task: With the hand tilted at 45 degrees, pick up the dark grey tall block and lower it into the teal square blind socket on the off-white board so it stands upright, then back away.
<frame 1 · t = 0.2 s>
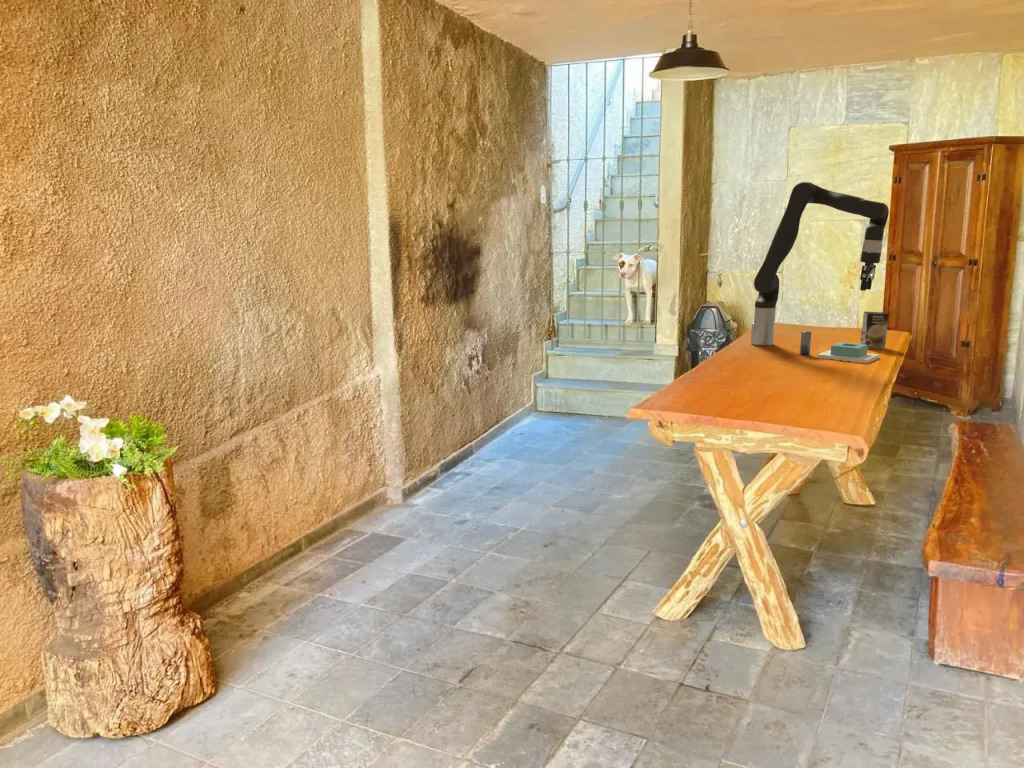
hand: (865, 289, 338), 28 cm above the table, tool pointing down, fingers open, 8 cm apart
dark grey tall block: (804, 354, 346), on the table
socket board: (848, 357, 338), on the table
coffee box: (872, 348, 362), on the table
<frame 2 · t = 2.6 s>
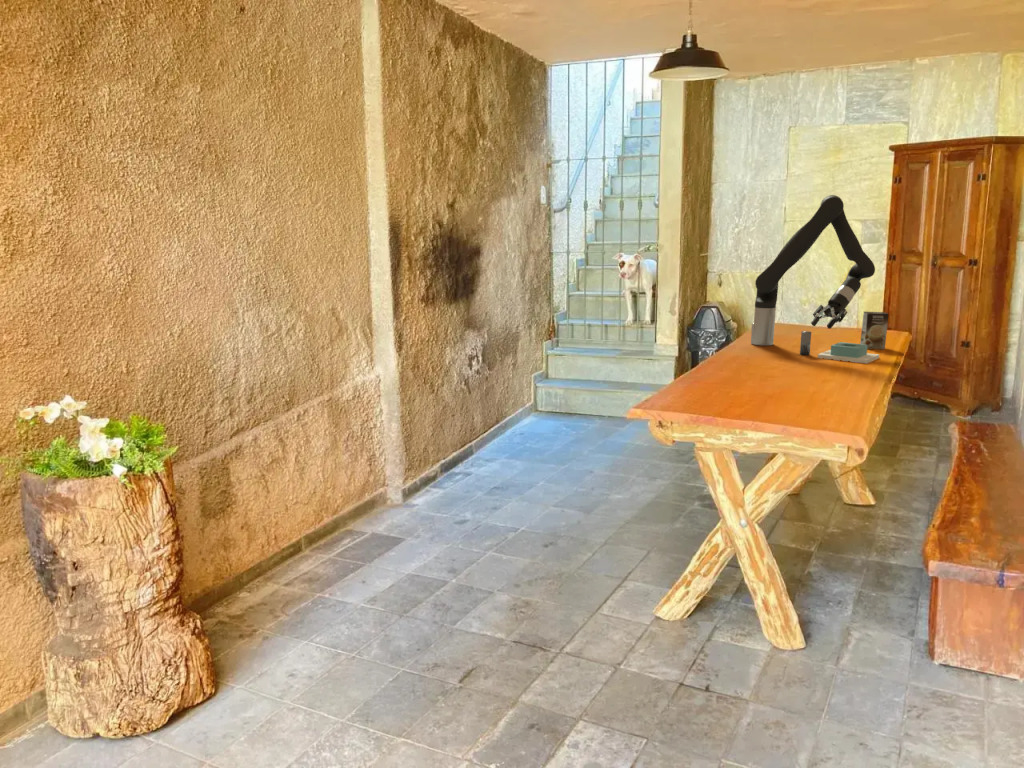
hand: (820, 326, 347), 12 cm above the table, tool tilted 45°, fingers open, 8 cm apart
nothing on the table moved.
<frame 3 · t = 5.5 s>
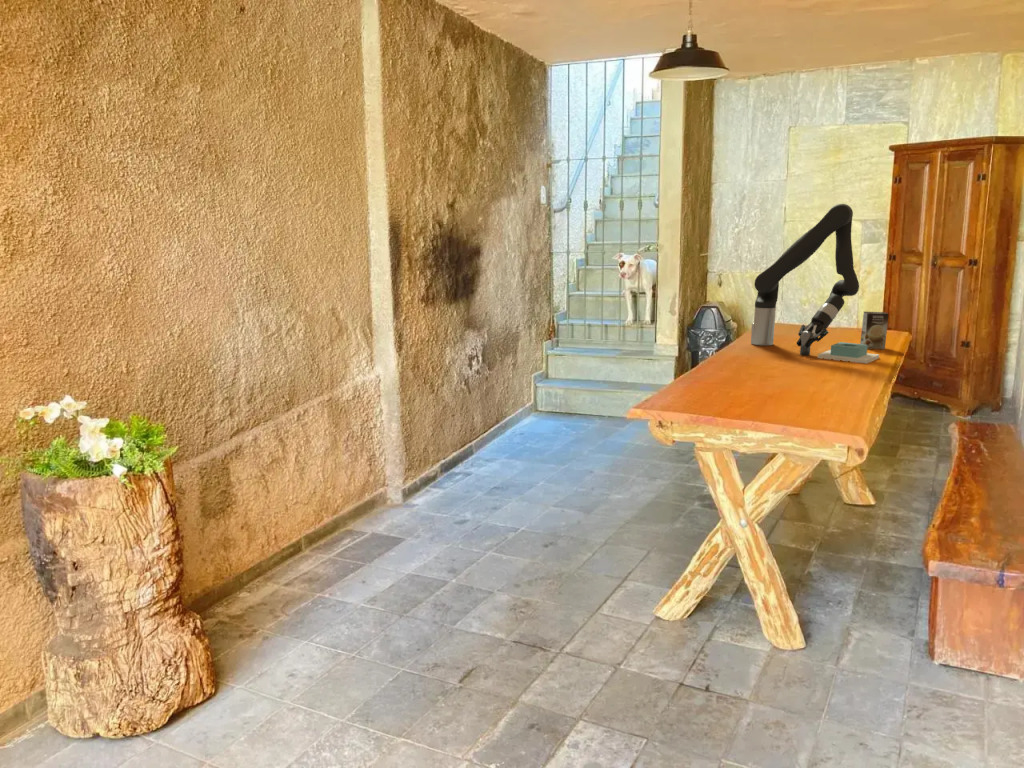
hand: (802, 345, 344), 4 cm above the table, tool tilted 45°, fingers closed on dark grey tall block, 4 cm apart
dark grey tall block: (804, 354, 346), on the table, touching gripper
everything else where it was.
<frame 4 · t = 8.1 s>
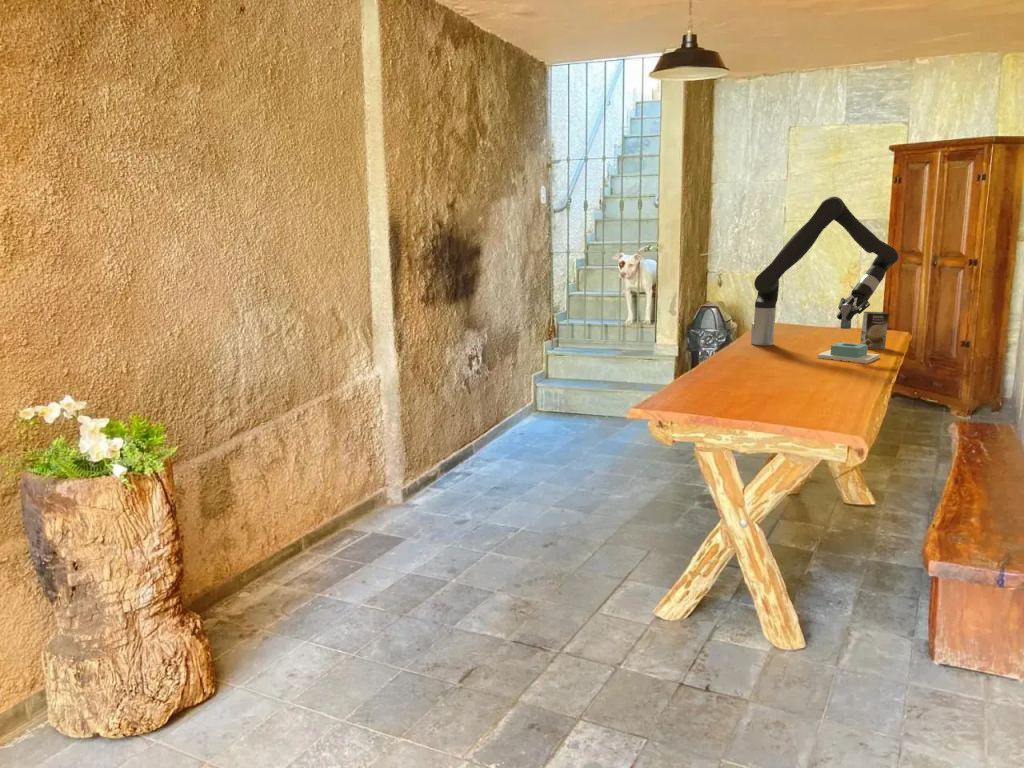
hand: (842, 318, 334), 17 cm above the table, tool tilted 45°, fingers closed on dark grey tall block, 4 cm apart
dark grey tall block: (845, 328, 336), point 13 cm above the table, touching gripper
everything else where it was.
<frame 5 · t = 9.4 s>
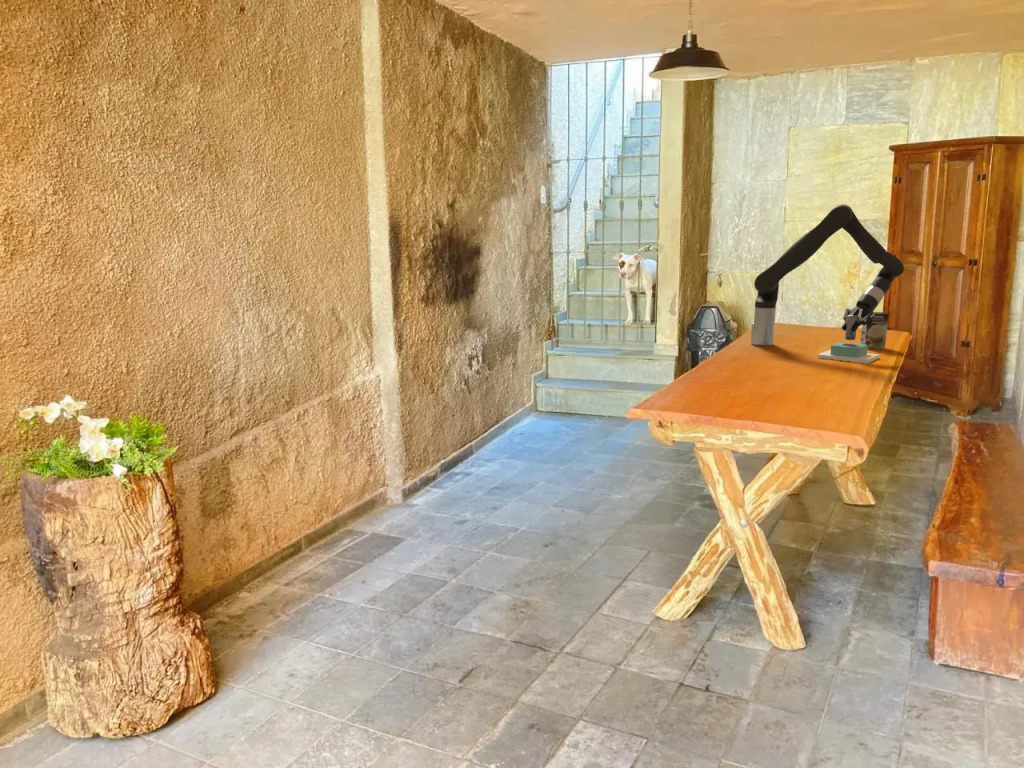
hand: (847, 329, 334), 12 cm above the table, tool tilted 45°, fingers closed on dark grey tall block, 4 cm apart
dark grey tall block: (850, 339, 336), point 8 cm above the table, touching gripper
everything else where it was.
when the fingers open (7 cm above the table, at t = 10.7 s): dark grey tall block drops 2 cm, resting on socket board.
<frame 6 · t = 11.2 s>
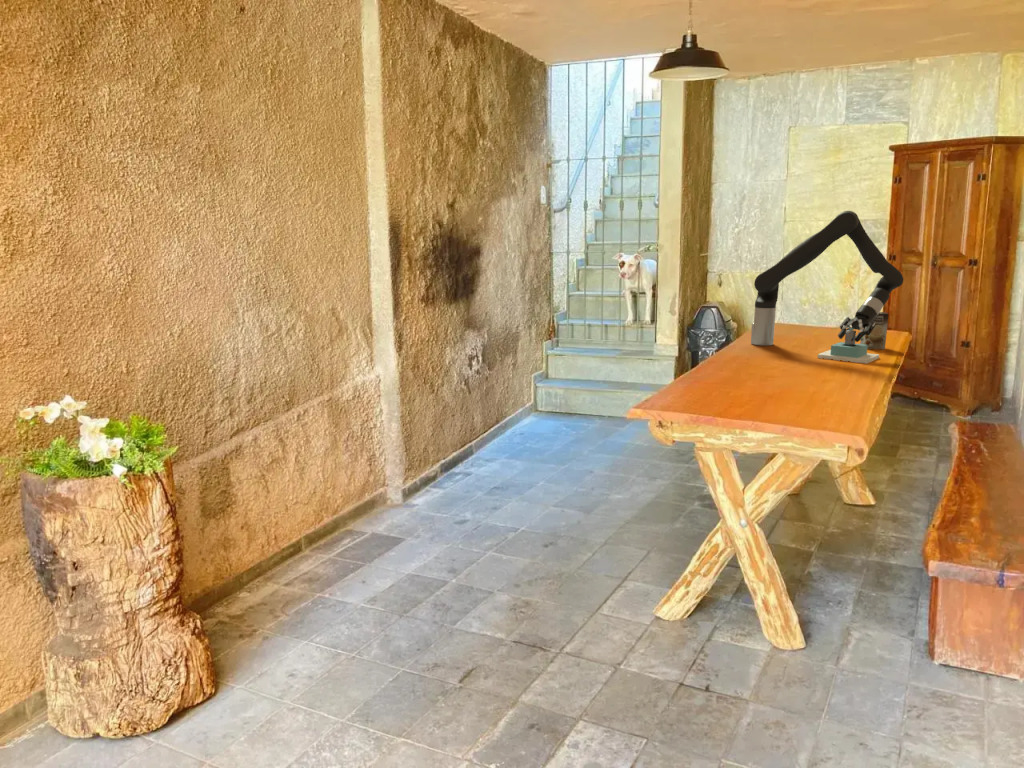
hand: (847, 339, 335), 8 cm above the table, tool tilted 45°, fingers open, 8 cm apart
dark grey tall block: (848, 354, 338), point 2 cm above the table, touching socket board
everything else where it was.
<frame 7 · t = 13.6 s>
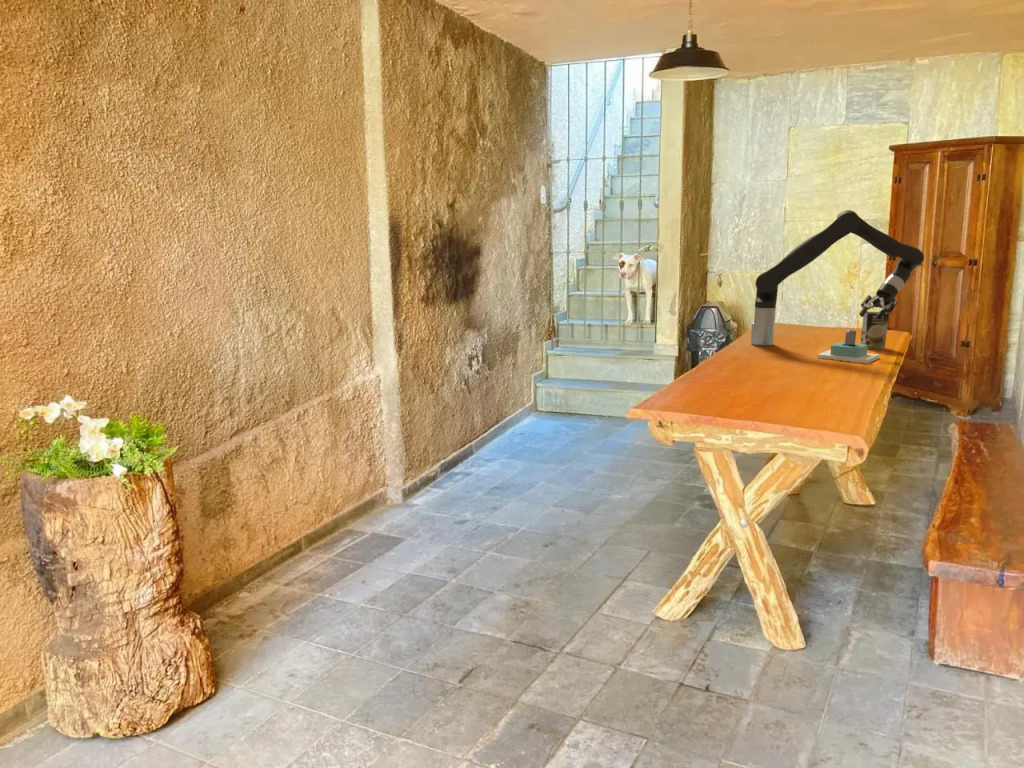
hand: (869, 317, 339), 17 cm above the table, tool tilted 45°, fingers open, 8 cm apart
nothing on the table moved.
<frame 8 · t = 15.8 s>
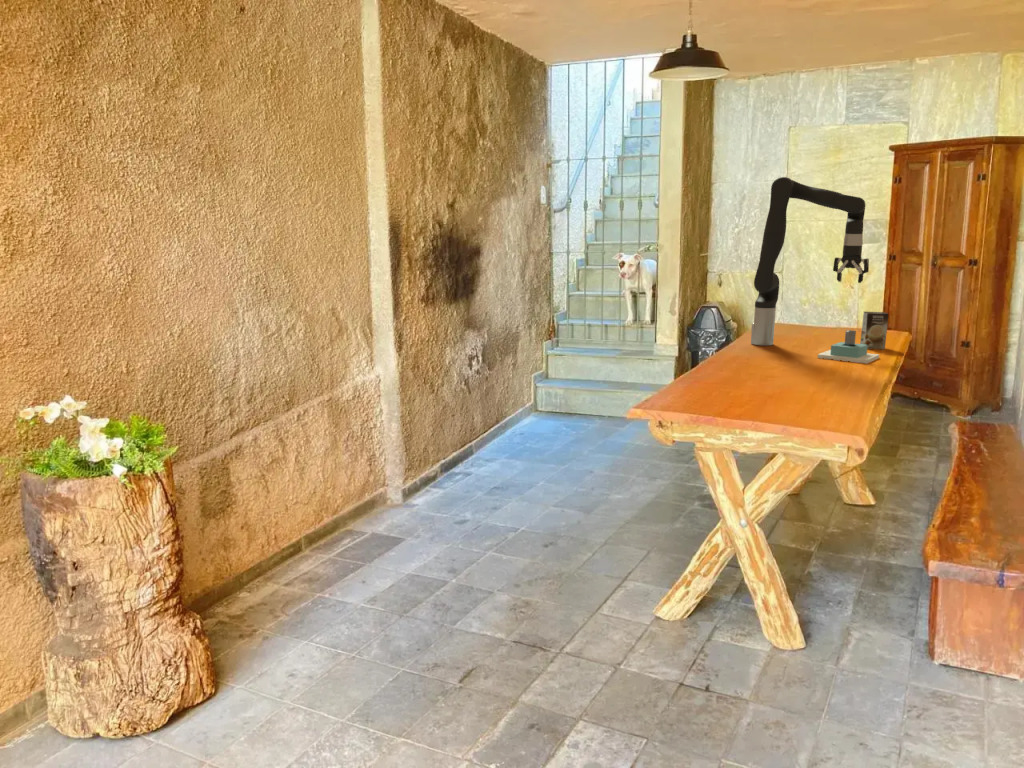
hand: (849, 282, 350), 30 cm above the table, tool pointing down, fingers open, 8 cm apart
nothing on the table moved.
at the end: dark grey tall block 0.1 cm off-centre on the socket board, point 1.5 cm above the socket board's base; dark grey tall block tilted 1°; the gripper is holding nothing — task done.
